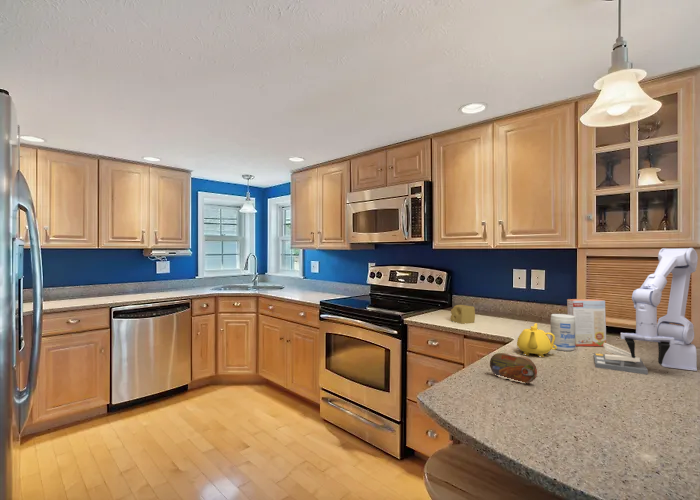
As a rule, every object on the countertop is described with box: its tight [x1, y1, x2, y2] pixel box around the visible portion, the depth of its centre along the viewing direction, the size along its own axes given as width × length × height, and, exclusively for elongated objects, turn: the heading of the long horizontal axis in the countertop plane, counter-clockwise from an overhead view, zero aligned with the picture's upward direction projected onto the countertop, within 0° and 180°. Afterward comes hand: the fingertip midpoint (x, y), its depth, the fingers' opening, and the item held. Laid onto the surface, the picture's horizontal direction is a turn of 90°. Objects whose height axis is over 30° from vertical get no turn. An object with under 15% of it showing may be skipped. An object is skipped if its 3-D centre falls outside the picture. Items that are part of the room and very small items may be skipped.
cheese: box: [449, 304, 476, 325], centre depth 222 cm, size 10×11×10 cm
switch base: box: [593, 352, 649, 375], centre depth 136 cm, size 15×16×3 cm
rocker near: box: [605, 353, 641, 362], centre depth 131 cm, size 10×3×1 cm, turn 58°
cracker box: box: [566, 298, 607, 348], centre depth 166 cm, size 14×6×21 cm, turn 84°
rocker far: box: [602, 342, 631, 356], centre depth 141 cm, size 10×3×1 cm, turn 58°
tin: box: [489, 352, 538, 385], centre depth 121 cm, size 15×3×8 cm, turn 40°
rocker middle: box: [603, 346, 636, 363], centre depth 136 cm, size 10×3×1 cm, turn 58°
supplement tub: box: [550, 313, 576, 352], centre depth 160 cm, size 10×10×15 cm
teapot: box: [516, 322, 557, 358], centre depth 151 cm, size 20×15×12 cm
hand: (646, 361), depth 127 cm, fingers open, 7 cm apart
